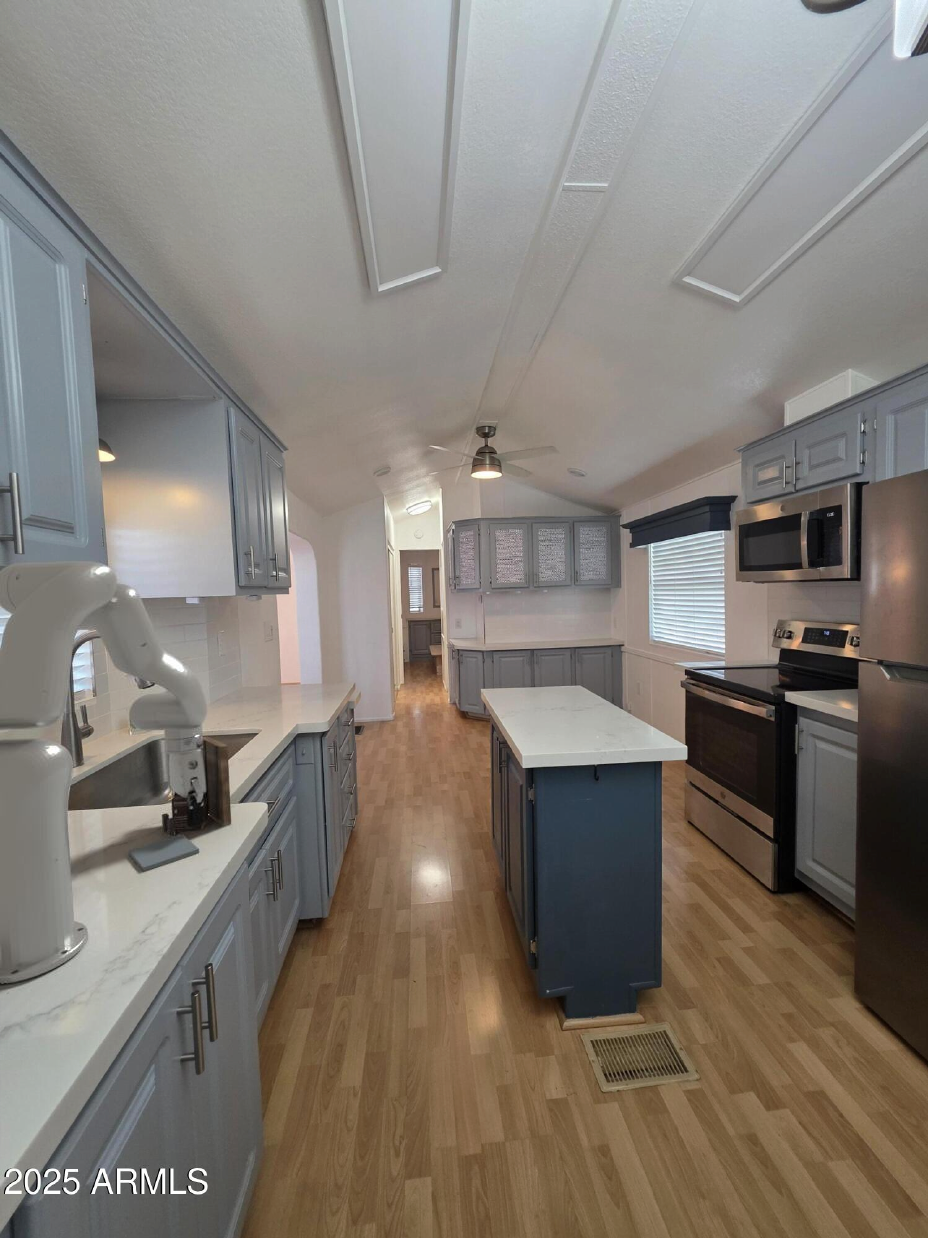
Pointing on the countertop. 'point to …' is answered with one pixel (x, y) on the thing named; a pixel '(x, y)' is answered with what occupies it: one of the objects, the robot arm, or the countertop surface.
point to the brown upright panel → (212, 784)
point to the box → (181, 813)
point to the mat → (163, 852)
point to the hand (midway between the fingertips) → (188, 818)
